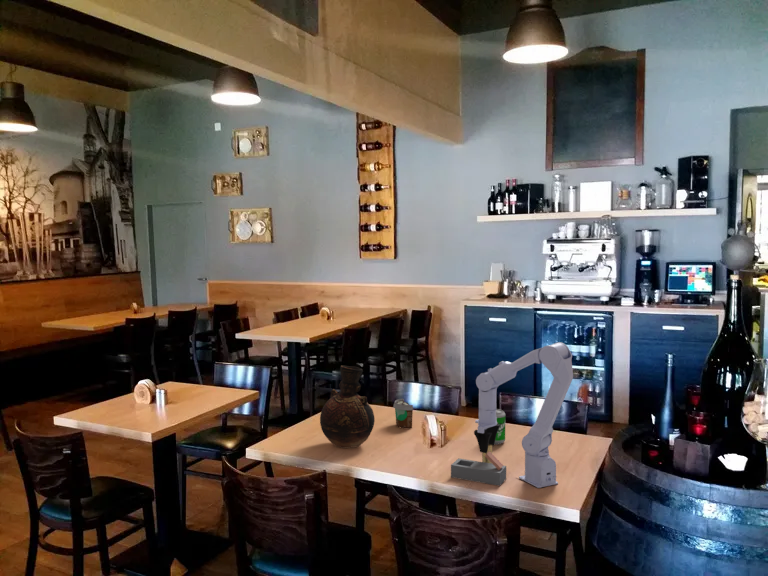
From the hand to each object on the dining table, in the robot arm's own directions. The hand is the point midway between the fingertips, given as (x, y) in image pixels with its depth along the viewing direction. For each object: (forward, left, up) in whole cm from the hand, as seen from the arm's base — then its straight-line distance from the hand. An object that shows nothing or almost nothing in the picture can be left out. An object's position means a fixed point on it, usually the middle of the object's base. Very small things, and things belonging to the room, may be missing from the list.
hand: (487, 449), depth 199 cm
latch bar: (-9, +4, -1) cm, 10 cm away
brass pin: (0, 0, -7) cm, 7 cm away
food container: (+57, +2, -7) cm, 58 cm away
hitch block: (-6, +7, -7) cm, 11 cm away
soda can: (+22, -20, -7) cm, 31 cm away
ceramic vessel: (+43, +32, -7) cm, 55 cm away
